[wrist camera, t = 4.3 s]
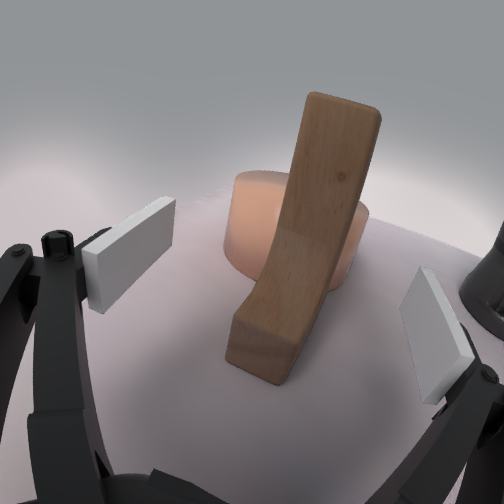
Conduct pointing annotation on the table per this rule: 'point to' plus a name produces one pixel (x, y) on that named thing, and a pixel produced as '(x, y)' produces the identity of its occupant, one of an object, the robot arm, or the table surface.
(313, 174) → the wooden block
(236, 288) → the table surface
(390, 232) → the table surface
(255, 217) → the peach disc
